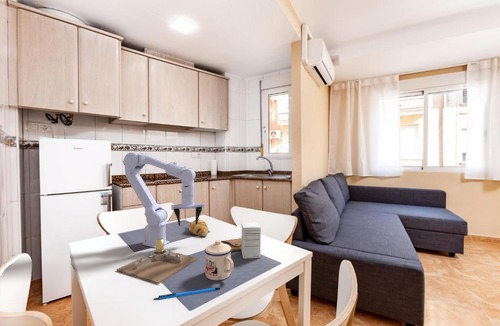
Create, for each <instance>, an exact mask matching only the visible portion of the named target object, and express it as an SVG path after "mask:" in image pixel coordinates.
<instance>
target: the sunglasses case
mask: <svg viewBox="0 0 500 326" xmlns="http://www.w3.org/2000/svg"><path fill="white" fill-rule="evenodd" d="M220 241H221V243H224V244H227V245H229V246H230V247H231V254H234V253H240V252H242V237H240V238H233V239H232V238H231V239H228V240H227V239H225V240H220Z"/></svg>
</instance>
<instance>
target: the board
mask: <svg viewBox="0 0 500 326" xmlns="http://www.w3.org/2000/svg"><path fill="white" fill-rule="evenodd" d="M168 251H169V253H171V254H173V255H179V256H181V257H182V262H181V263H178V262H174V261H171V260H167V259H164V260H160V261H152V262H150V263H148V264H146V265H144V266H142V267H140V268H138V269H135V263H136V262H138V261H139V260H143V259H145V258H147V257H148V256H151V253H148V254H147V255H145V256H142V257H140V258H138V259H136V260H134V261H132V262H130V263H127V264H125V265H122V266H120V267H119V268H116V272H119V273H122V274H124V275H125V274H126V275H129V276H131V277H135V278H138V279H140V280H141V279H142V280H144V281H147V282H150V283H153V284H157V285H159V284H161V283H162V282H165V280H167V279H169V278H170V277H172V276H174V275H175V274H177V273H179V272H180V271H182V270H183V269H185V268H186V267H189V265H191V264H193V263H194V262H196V261H197V260H199V258H198V257H196V256H192V255H191V256H190V255H187V254H183V253H178V252H174V251H170V250H168Z"/></svg>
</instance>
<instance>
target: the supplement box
mask: <svg viewBox="0 0 500 326" xmlns="http://www.w3.org/2000/svg"><path fill="white" fill-rule="evenodd" d="M261 235H262V234H261V225H260V224H259V222H258V221H257V222H255V221H252V222H241V238H242V251H241V254H242V259H261V241H262V240H261V238H262V237H261Z"/></svg>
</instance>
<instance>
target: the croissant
mask: <svg viewBox="0 0 500 326" xmlns="http://www.w3.org/2000/svg"><path fill="white" fill-rule="evenodd" d="M188 232H190V233H191V234H193V235H196V236H199V237H207V235H208V233H209V228H208V225H207V223H206V221H204V220H203V219H200V218H199V219H198V223H197V224H196V223H195V220H193V221H190V223H189V225H188Z"/></svg>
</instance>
